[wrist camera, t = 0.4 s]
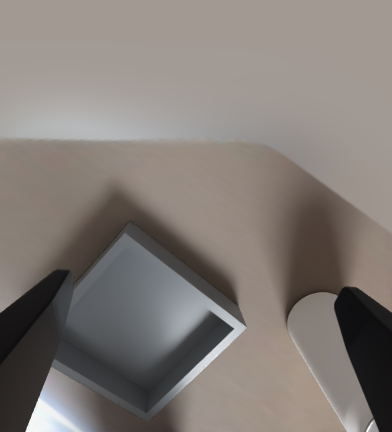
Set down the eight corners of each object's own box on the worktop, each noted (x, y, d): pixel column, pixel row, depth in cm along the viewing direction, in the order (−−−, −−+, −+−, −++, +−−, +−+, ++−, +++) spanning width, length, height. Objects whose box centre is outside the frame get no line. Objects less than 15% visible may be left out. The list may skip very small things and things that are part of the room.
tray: (149, 393, 31) (147, 422, 28) (38, 324, 27) (21, 349, 24) (238, 306, 29) (247, 327, 26) (130, 220, 25) (124, 232, 22)
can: (272, 321, 30) (337, 441, 18) (319, 277, 29) (418, 375, 17) (312, 354, 31) (395, 483, 20) (358, 313, 30) (473, 424, 19)
